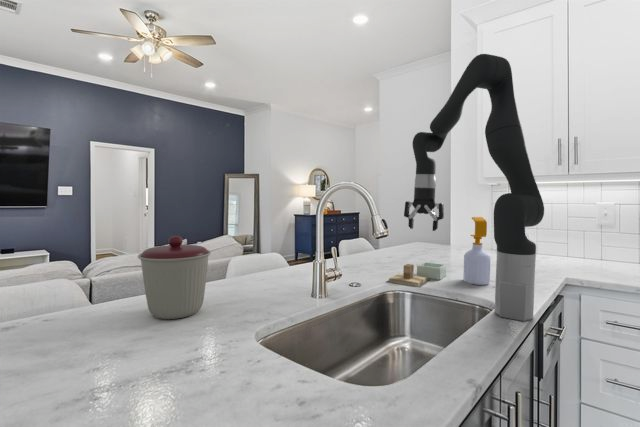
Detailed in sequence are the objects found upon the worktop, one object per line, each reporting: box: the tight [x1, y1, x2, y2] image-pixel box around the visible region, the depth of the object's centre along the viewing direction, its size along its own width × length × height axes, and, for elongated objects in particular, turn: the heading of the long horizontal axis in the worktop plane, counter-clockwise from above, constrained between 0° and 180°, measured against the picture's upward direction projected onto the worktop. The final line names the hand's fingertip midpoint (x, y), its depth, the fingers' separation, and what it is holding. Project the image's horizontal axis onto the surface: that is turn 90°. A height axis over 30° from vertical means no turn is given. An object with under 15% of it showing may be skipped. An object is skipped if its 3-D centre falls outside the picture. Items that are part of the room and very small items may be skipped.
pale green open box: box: [416, 261, 447, 281], centre depth 136 cm, size 9×9×5 cm
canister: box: [137, 235, 212, 320], centre depth 93 cm, size 18×18×21 cm
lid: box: [388, 263, 429, 287], centre depth 129 cm, size 11×11×6 cm
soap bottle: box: [462, 216, 491, 286], centre depth 129 cm, size 9×9×25 cm
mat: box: [385, 279, 431, 288], centre depth 129 cm, size 13×13×1 cm
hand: (422, 229), depth 130 cm, fingers open, 8 cm apart
